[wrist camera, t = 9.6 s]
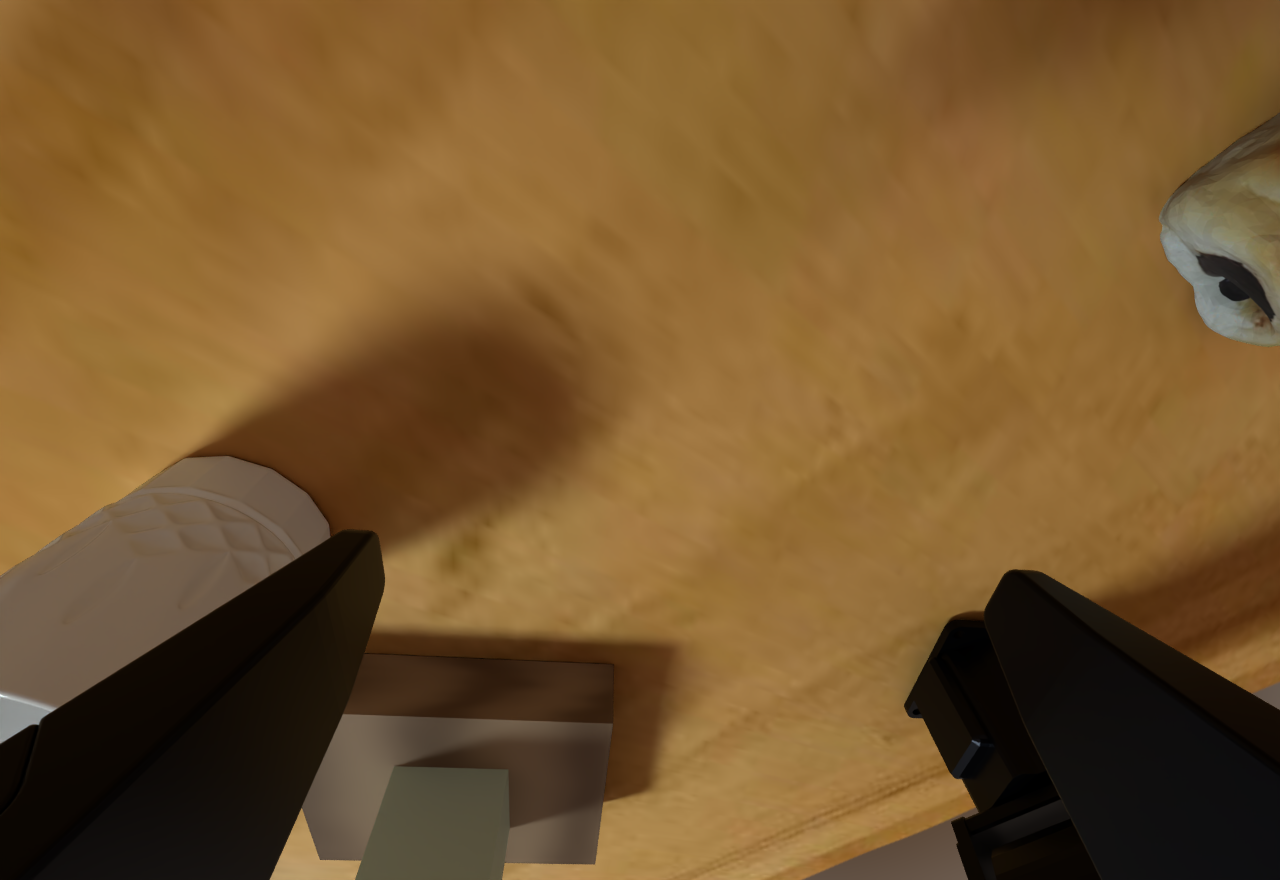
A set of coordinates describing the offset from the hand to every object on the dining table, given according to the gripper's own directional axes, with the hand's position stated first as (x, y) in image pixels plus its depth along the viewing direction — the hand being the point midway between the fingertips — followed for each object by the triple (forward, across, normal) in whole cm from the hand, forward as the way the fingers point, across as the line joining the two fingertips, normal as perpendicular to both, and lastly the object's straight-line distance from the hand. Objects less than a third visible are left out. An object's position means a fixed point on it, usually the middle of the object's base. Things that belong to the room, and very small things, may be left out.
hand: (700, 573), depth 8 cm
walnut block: (+12, +7, +23) cm, 27 cm away
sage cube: (+9, +7, +23) cm, 26 cm away
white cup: (+12, +15, +10) cm, 22 cm away
